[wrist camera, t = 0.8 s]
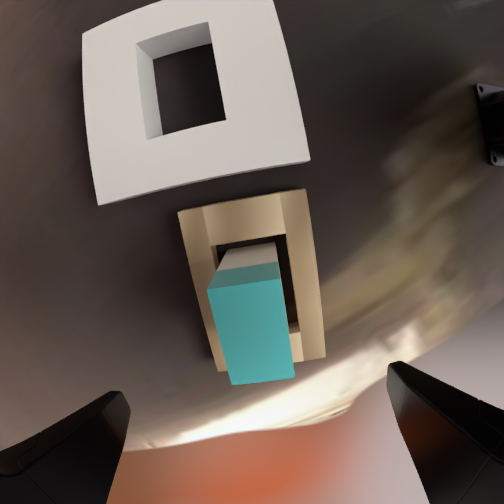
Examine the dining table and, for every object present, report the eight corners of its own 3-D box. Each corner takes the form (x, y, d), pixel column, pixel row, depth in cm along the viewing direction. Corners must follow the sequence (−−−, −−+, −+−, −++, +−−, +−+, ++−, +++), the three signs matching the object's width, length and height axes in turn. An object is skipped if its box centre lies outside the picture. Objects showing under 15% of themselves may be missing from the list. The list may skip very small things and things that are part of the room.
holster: (302, 188, 18) (305, 189, 16) (322, 345, 20) (325, 357, 19) (184, 209, 18) (177, 212, 17) (220, 359, 21) (218, 371, 19)
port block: (266, 2, 14) (265, -22, 12) (303, 163, 17) (310, 160, 14) (102, 47, 16) (82, 33, 13) (120, 201, 18) (98, 205, 15)
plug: (274, 241, 19) (280, 278, 12) (286, 313, 20) (295, 377, 13) (227, 249, 19) (206, 289, 12) (242, 320, 20) (231, 384, 13)
